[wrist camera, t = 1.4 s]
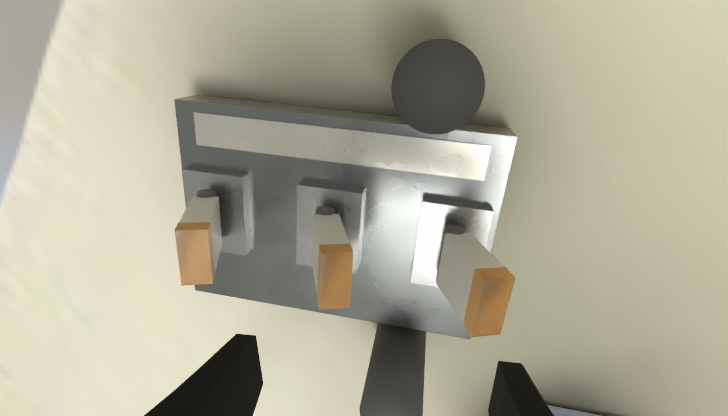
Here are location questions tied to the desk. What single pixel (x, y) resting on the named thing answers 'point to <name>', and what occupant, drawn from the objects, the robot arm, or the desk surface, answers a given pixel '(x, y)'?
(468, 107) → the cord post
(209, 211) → the orange and white block
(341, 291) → the white and orange block
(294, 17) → the desk surface
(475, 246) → the white and orange block
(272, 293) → the breaker panel
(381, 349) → the cylinder
